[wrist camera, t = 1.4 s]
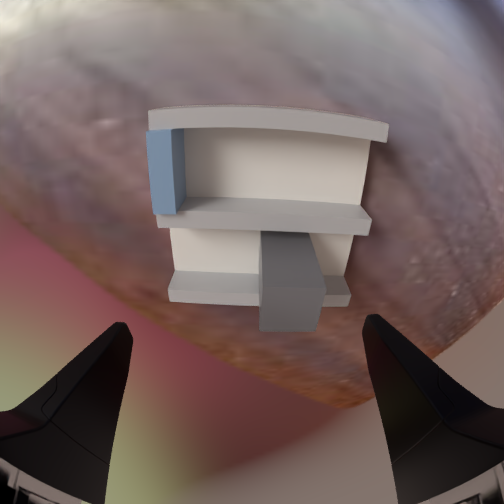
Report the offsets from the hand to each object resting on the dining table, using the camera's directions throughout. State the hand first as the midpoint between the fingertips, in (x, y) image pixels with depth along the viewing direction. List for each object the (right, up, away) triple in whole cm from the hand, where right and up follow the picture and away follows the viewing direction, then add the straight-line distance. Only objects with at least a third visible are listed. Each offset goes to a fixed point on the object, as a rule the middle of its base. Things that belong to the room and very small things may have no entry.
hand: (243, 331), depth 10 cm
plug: (+3, +3, +12) cm, 12 cm away
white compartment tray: (+1, +6, +11) cm, 13 cm away
